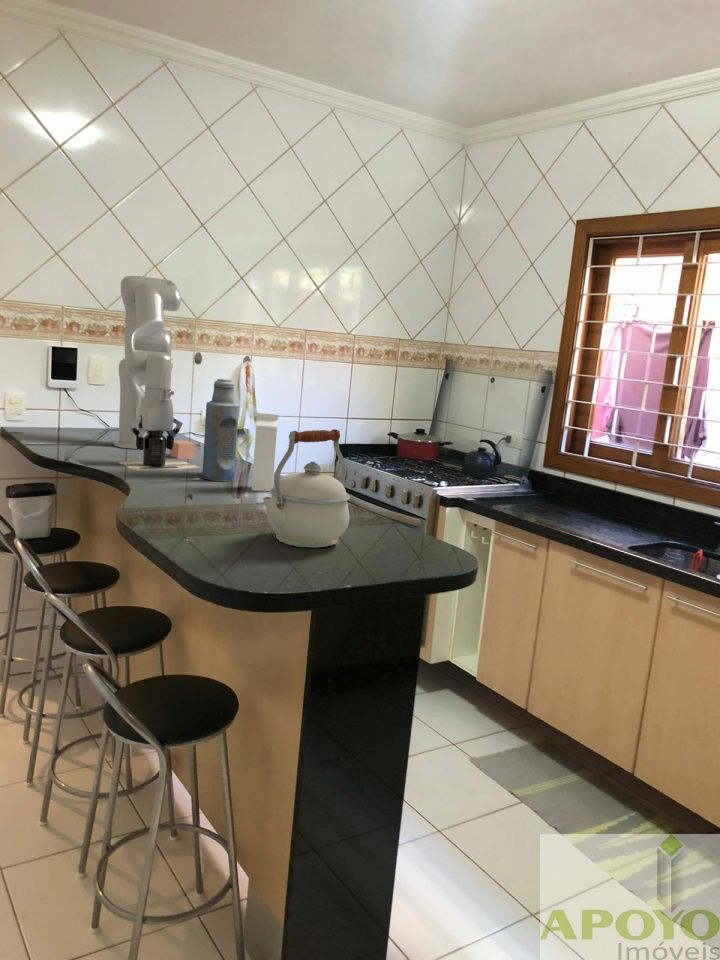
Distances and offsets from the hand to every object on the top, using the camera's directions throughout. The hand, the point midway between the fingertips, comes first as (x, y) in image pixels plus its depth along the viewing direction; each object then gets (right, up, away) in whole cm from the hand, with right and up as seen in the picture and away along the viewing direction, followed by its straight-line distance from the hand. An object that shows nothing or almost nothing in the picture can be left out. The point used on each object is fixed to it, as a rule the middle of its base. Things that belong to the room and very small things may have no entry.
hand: (154, 449), depth 238 cm
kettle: (+51, -23, -67) cm, 87 cm away
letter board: (+1, -6, +2) cm, 6 cm away
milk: (+35, -12, -15) cm, 40 cm away
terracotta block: (+3, -3, +21) cm, 21 cm away
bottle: (+21, -9, -6) cm, 23 cm away
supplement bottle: (-1, -5, +1) cm, 5 cm away
